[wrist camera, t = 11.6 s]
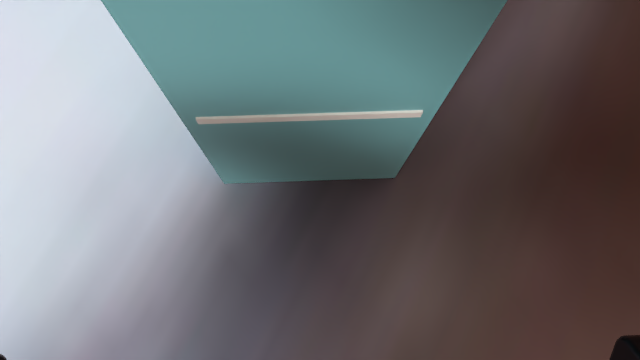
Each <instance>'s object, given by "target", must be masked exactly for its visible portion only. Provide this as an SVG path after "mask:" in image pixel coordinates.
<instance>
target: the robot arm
mask: <svg viewBox="0 0 640 360" xmlns="http://www.w3.org/2000/svg"><path fill="white" fill-rule="evenodd" d="M0 360H6V358H5V357H4V356H3V355H2V354H0ZM610 360H640V335H629V336H621V337H620V338H619V339H618V340H617V341H616V343H615V346H614V349H613V351H612V354H611V357H610Z"/></svg>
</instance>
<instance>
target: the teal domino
mask: <svg viewBox="0 0 640 360" xmlns="http://www.w3.org/2000/svg"><path fill="white" fill-rule="evenodd" d="M101 1H102V2H103V4H104V5H105V7H106V8H107V10H108V11H109V13H110V14H111V16H112V17H113V19H114V20H115V22H116V23H117V25H118V26H119V28H120V29H121V31H122V32H123V34H124V35H125V37H126V38H127V40H128V41H129V43H130V44H131V45H132V47H133V48H134V50H135V51H136V53H137V54H138V56H139V57H140V59H141V60H142V62H143V63H144V65H145V66H146V68H147V69H148V71H149V72H150V74H151V75H152V77H153V78H154V80H155V81H156V83H157V84H158V86H159V87H160V89H161V90H162V92H163V93H164V95H165V96H166V98H167V99H168V101H169V102H170V104H171V105H172V107H173V108H174V109H175V111H176V112H177V114H178V115H179V117H180V118H181V120H182V121H183V123H184V124H185V126H186V127H187V129H188V130H189V132H190V133H191V135H192V136H193V138H194V139H195V141H196V142H197V144H198V145H199V147H200V148H201V150H202V151H203V153H204V154H205V156H206V157H207V159H208V160H209V162H210V163H211V165H212V166H213V168H214V169H215V170H216V172H217V173H218V175H219V176H220V178H221V179H222V181H223V182H224V184H228V183H258V182H287V181H317V180H346V179H376V178H395V177H396V175H397V174H398V172H399V171H400V169H401V167H402V166H403V164H404V163H405V161H406V160H407V158H408V156H409V155H410V153H411V152H412V150H413V148H414V147H415V145H416V144H417V142H418V141H419V139H420V137H421V136H422V134H423V133H424V131H425V130H426V128H427V126H428V125H429V123H430V122H431V120H432V118H433V117H434V115H435V114H436V112H437V111H438V109H439V107H440V106H441V104H442V103H443V101H444V100H445V98H446V96H447V95H448V93H449V92H450V90H451V89H452V87H453V85H454V84H455V82H456V81H457V79H458V77H459V76H460V74H461V73H462V71H463V70H464V68H465V66H466V65H467V63H468V62H469V60H470V59H471V57H472V55H473V54H474V52H475V51H476V49H477V47H478V46H479V44H480V43H481V41H482V40H483V38H484V36H485V35H486V33H487V32H488V30H489V29H490V27H491V25H492V24H493V22H494V21H495V19H496V18H497V16H498V14H499V13H500V11H501V10H502V8H503V6H504V5H505V3H506V2H507V0H101Z"/></svg>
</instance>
